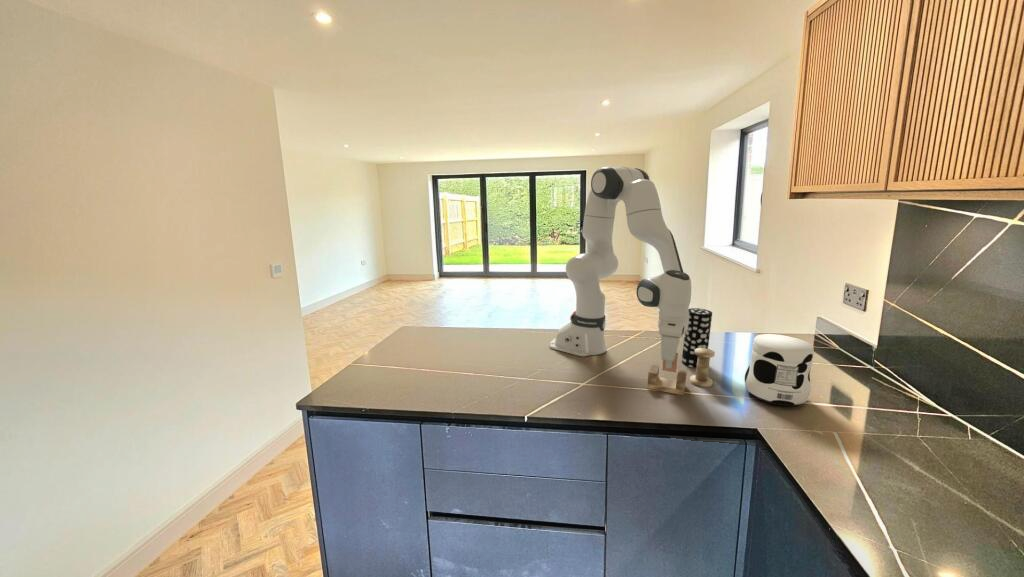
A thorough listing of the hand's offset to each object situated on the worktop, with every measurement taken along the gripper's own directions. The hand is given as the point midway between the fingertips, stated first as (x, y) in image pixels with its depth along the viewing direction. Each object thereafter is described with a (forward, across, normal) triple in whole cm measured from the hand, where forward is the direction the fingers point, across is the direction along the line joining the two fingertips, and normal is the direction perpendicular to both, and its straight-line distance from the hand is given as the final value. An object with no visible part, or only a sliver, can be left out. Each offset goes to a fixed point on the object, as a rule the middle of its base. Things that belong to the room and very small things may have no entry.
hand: (669, 364), depth 136 cm
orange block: (+2, 0, 0) cm, 2 cm away
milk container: (+8, -8, +31) cm, 33 cm away
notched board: (+8, 0, 0) cm, 8 cm away
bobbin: (+8, -9, +10) cm, 16 cm away
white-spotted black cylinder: (+8, -25, +7) cm, 27 cm away
